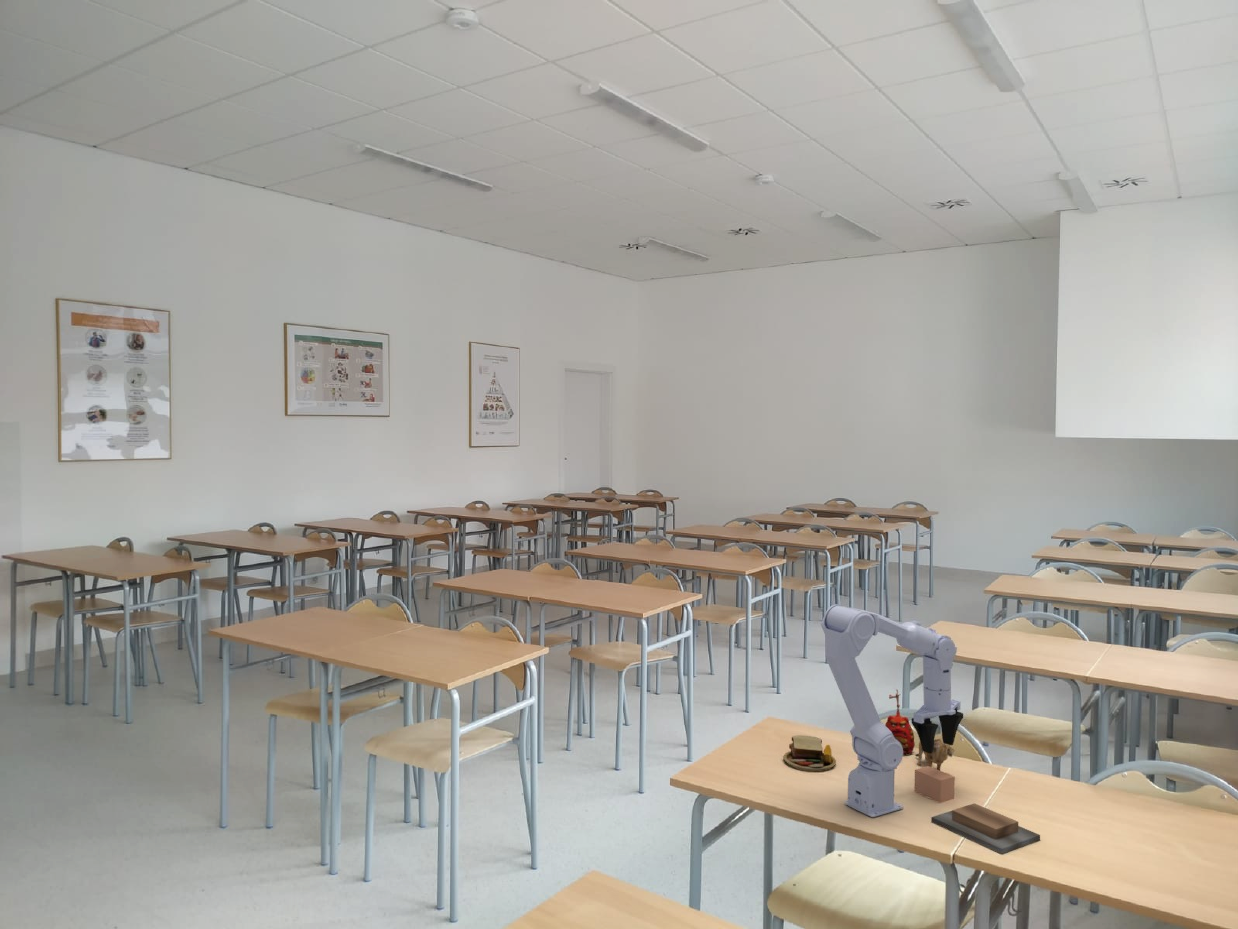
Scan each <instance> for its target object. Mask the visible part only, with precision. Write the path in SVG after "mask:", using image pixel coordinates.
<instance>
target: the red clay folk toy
mask: <svg viewBox="0 0 1238 929" xmlns="http://www.w3.org/2000/svg"><path fill="white" fill-rule="evenodd" d="M895 690H896V693H895V695H892V694H889V697H888V698H889V699H896V708H897V709H896V714H895V715H894V716H893V715H888V717H887V721H886V723H885V724H884V725H885V726H886V727H887V728H888V729H889V730H890V731H891V732H892V734H893V736H894V738H895V739H896V740H897V741H899V742H900V743H901V745H902V747H903V756H905V755H906V754H910V755H912V754H913V751H914V748H915V744H916V743H915V735H914V730H913V728H912V724H910V723H909V718H908V717H907V716H901V712H900V707H901V705H900V704H899V702H900V700H899V698H900V697H899V696H900V694H899V690H898V689H895ZM906 756H907V755H906Z"/></svg>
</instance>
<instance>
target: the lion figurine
mask: <svg viewBox="0 0 1238 929" xmlns="http://www.w3.org/2000/svg"><path fill="white" fill-rule="evenodd" d="M955 751H956V750H955V749H954V748H953V747H951V745H948V744H945V743H943V739H942V738H938V739H935V738H934V749H933V753H931V754H930V753H927V752H924V751H923V750H922V746H921V742H920V741H919V743H918V753H916V754H915V755H914V756H915V757H918V758H917V759H918V760H917V764H916V765H918V766H923V763H922V762H923V760H922V758H923V754H924V760H925V761H926V762H927V765H926V767H927V766H929V767H932V768H933V764H936V767H935V769H937V770H939V771H941V767H942V764H943V763H944V762H945V761H947V760H948V757H950V758H952V757H953V754H954V753H955Z"/></svg>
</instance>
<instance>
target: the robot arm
mask: <svg viewBox="0 0 1238 929" xmlns="http://www.w3.org/2000/svg"><path fill="white" fill-rule="evenodd" d="M921 625H922V623H921V622H919V621H917V620H916V621H915V620H911V621H905V622H902V623H899V622H897V621H894V620H892V619H890V618H888V617H886V616H883V615H881V614H879V613H876V612H872V611H868V610H864V609H860V608H859V609H858V608H855V607H850V606H849V607H848V606H844V605H841V604H832V605H831V606H829V607H827V610H826V611H825V613H824V615H823V617H822V621H821V624H820V627H821V629H822V630H823V633H824V642H825V643H824V644H825V658H826V662H827V664H828V666H829V668H830V671H831V673H832V676H833V678H834V681H835V682H836V686H837V687H838V690H839V691H840V694H841V696H842V699H843V702H844V704H845V706H846V708H847V709H846V710H847V711H848V713H849V716H850V718H851V720H852V723H853V725H852V727H851V729H850V730H849V732H850V735H851V741H852V743H851V745H852V750H853V752H854V753H855V755H857V761H858V762H859V763H858V765H857V766H856V767H855V768H854V769H852V770H851V771H850V772H849V774H848V778H847V800H846V801H844V805H846V806H848V807H850V808H853V809H854V810H857V811H858V812H861V813H862V814H864V815H867V816H868V817H871V818H875V817H879V816H882V815H886V814H889V813H893V812H895V811H900V810H902V809H904V806H903V805H902V804H900V803H897V802H895V770H897V769H898V766H900V764H901V763H902V761H903V757H904V755H903V747H902V745H901V743H900V742H899V741H897V740H896V739H895V738H894V736H893V734H892V732H891V731H890V730H889V729H888V728H887V727H886V726H885V724H884V723H883V722H882V721H881V718H880V716H879V713H878V710H877V709H876V706H875V703H874V701H873V700H872V697H871V694H870V692H869V689H868V687H867V685H866V682H865V679H864V677H863V675H862V673H861V670H860V667H859V665H858V663H857V660H856V658H857V657H858V656H860V655H861V653H862V652H863V650H864V649H865V647H866V646H867V644H868V643H869V641H870V640H871V639H872V637H873V636H874V637H875V636H877V635H878V633H881V634H884V635H886V636H889V637H891V638H894V639H896V642H897V644H898V645H899V647H901V648H903V649H906V650H908V651H912V652H913V653H917V654H918V655H919V656H921V657H922V674H923V675H922V676H923V677H922V680H923V681H922V682H923V687H922V688H923V689H922V690H923V691H922V692H923V704H922V705H921V707H920V708H918V710H916V711H915V712H913V717H912V718H911V725H912V726H913V728H914V730H915V731H916V734H917V735H918V739H919V742H921V746H922V750H923V753H924V752H927V753H930V754H931V753H933V749H934V740H935V736H936V733H937V729H938V728H939V726H940V729H941V739H943V743H945V744H948V745H950V746H953V745H954V743H955V739H956V735H957V731H958V728H959V726H960V723H961V722H962V720H964V713H963V712H961V701H960V700H957V699H952V675H951V674H952V673H951V672H952V671H951V669H952V668H953V667H954V663H953V662H954V659H955V656H956V655H957V651H958V647H957V646H956V645H955V642H954V640H953V639H952V638H951V637H950V636H948V635H945V634H941V633H938V632H937V631H936V629H934V628H932V627H929V628H926V627H923V626H921ZM937 717H938V719H939V724H940V725H939V724H937V723H934V722H933V721H932V719H934V718H937Z"/></svg>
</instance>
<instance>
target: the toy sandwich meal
mask: <svg viewBox="0 0 1238 929" xmlns="http://www.w3.org/2000/svg"><path fill="white" fill-rule="evenodd" d="M791 741H792V743H789V745H788V747H789V749H790V751H788V752H786V753H784V755H783V760H784V762H786V763H787V764H788V765H789V766H790V767H792V768H795V769H797V770H800V771H806V772H823V771H828V770H830V769H832V768H833V767H834V766H836V764H837V760H836V759H835V757H833V756H832V748H831V745H830V744H826V746H825V748H824V749H823V739H822V738H821V737H816V736H811V735H801V734H798V735H792V736H791Z"/></svg>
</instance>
